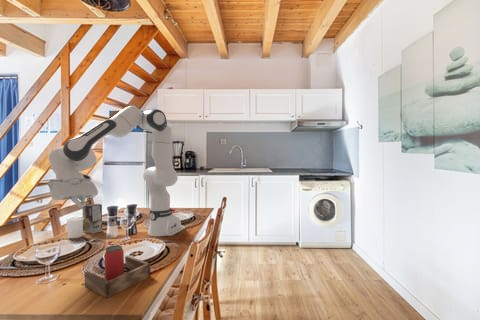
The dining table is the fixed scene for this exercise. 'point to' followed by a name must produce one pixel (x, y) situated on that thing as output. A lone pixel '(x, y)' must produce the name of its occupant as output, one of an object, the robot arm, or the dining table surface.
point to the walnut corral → (119, 278)
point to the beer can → (114, 262)
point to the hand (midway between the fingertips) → (82, 206)
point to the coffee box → (92, 218)
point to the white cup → (75, 227)
